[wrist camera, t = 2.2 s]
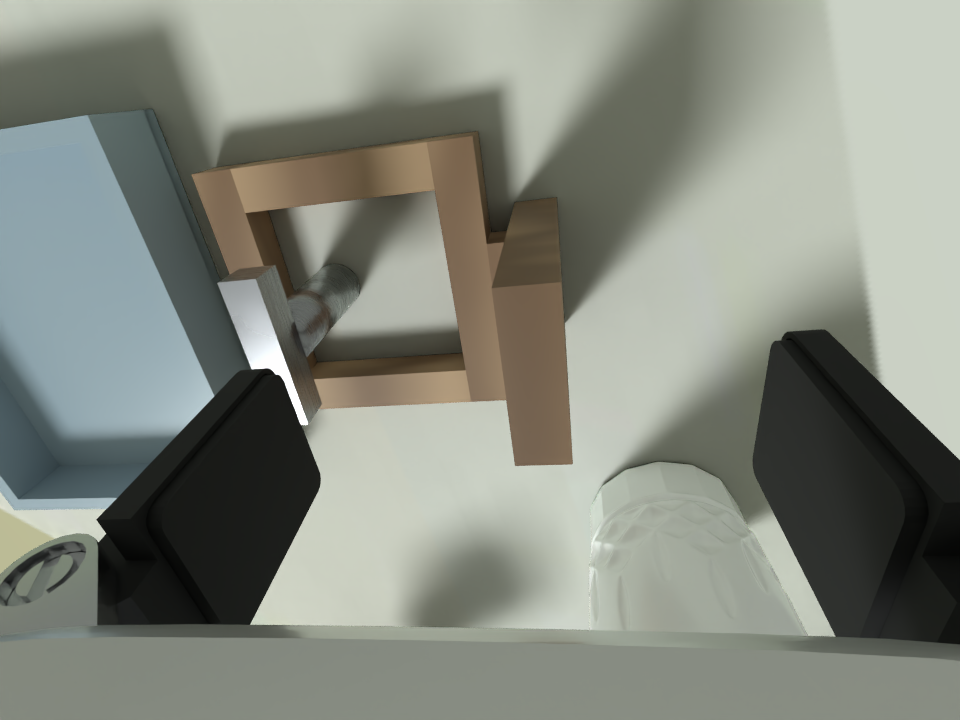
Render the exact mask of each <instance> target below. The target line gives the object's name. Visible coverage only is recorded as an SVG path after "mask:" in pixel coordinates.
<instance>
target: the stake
mask: <svg viewBox="0 0 960 720" xmlns="http://www.w3.org/2000/svg"><path fill="white" fill-rule="evenodd" d="M217 284H218V286H219V289H220V291H221V294H222V296H223V299H224V301H225V304H226V306H227V309H228V311H229V314H230V316H231V319H232V321H233V324H234V326H235V329H236V331H237V334H238V336H239V339H240V341H241V344H242V346H243V349H244V351H245V354H246V356H247V359H248V361H249V364H250V366H251V369H263V368H269V369H271V370H272V371H273V372H274V373H275V374H276V375H280V376H281V377H282V378H283V380H284V382H285V385H286V387H287V390H288V392H289V395H290V398H291V400H292V403H293V405H294V408H295V410H296V413H297V416H298V418H299V421H300V423H301V425H307V424H309V422H310V421H311V419H312V418H313V417H314V415H315V414H316V412H317V411H318V409H319V408H320V406H321V405H322V402H321V399H320V396H319V393H318V390H317V387H316V384H315V381H314V378H313V375H312V372H311V369H310V366H309V363H308V360H307V357H308V355H309V354H310V353H311V352H312V351H313V349H314V348H315V347H316V346H317V345H318V344H319V342H320V341H321V340H322V339H323V338H324V337H325V335H326V334H327V333H328V332H329V331H330V330H331V328H332V327H333V326H334V325H335V324H336V322H337V321H338V320H339V319H340V318H341V317H342V315H343V314H344V313H345V312H346V311H347V310H348V308H349V307H350V306H351V305H352V304H353V302H354V301H355V300H356V299H357V297H358V296H359V292H360V284H359V281H358V279H357V277H356V275H355V274H354V273H353V272H352V271H351V270H350V269H349V268H347V267H345V266H343V265H340V264H330V265H327V266H325V267H323V268H322V269H321V270H320V271H319V272H318V273H316V274H315V275H314V276H313V277H312V278H311V279H309V280H308V281H307V282H306V283H305V284H304V285H302V286H301V287H300V288H299V289H298V290H297V291H296V292H294V293H293V294H292V295H291V296H290V297H289V298H287V297H286V294H285V291H284V289H283V286H282V283H281V280H280V277H279V274H278V271H277V268H276V265H271V266H261V267H251V268H241V269H238V270H236V271H235V272H233V273H232V274H230V275H229V276H227V277H225V278H224V279H222V280H221V281H219V282H218V283H217Z"/></svg>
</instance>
